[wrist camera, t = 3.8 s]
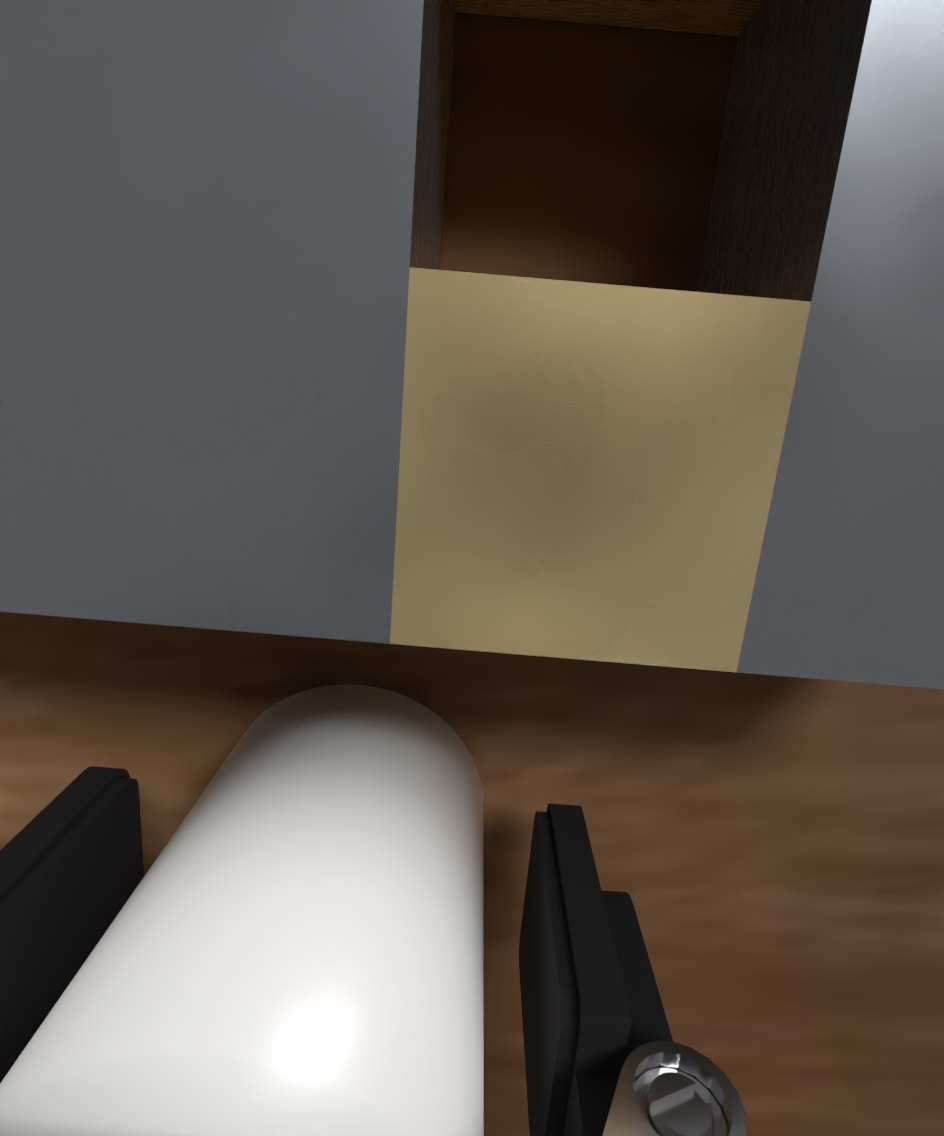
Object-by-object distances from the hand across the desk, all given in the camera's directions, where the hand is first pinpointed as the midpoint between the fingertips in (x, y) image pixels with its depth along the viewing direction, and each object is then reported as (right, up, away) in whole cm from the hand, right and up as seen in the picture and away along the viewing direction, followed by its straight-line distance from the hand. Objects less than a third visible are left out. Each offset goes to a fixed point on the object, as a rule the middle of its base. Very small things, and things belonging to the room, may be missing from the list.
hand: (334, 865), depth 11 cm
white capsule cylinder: (0, 0, +2) cm, 2 cm away
